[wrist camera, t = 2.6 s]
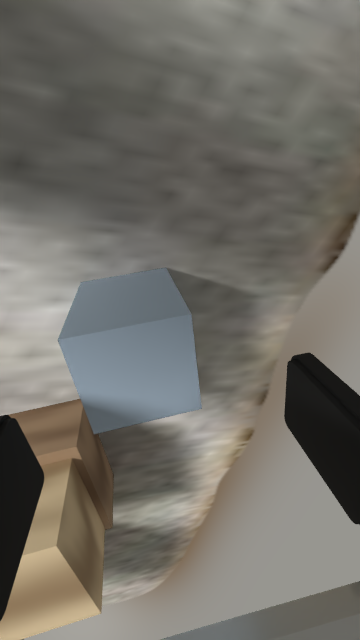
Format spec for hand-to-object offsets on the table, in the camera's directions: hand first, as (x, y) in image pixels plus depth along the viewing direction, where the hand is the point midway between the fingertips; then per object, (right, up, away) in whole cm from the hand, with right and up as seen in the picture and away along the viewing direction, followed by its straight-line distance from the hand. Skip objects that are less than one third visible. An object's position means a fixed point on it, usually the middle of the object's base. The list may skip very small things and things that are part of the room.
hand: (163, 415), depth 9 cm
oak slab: (-8, -8, +6) cm, 13 cm away
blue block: (-2, +4, +6) cm, 7 cm away
